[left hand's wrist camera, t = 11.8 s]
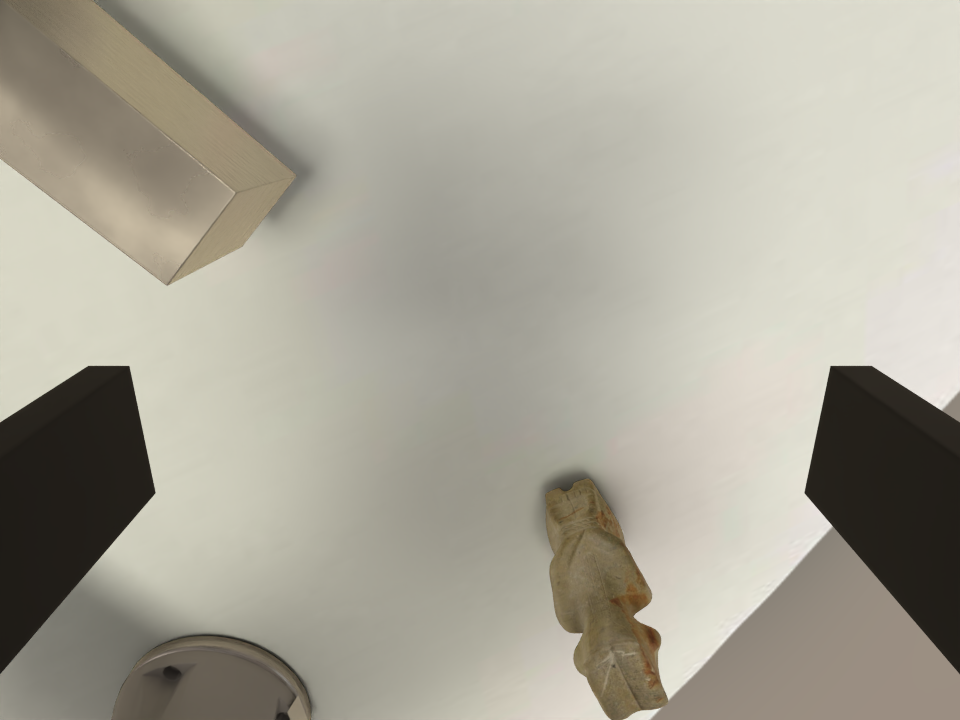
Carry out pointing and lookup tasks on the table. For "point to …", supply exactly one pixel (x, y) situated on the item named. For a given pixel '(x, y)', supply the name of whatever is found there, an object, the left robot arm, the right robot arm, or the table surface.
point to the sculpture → (602, 602)
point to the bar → (127, 139)
